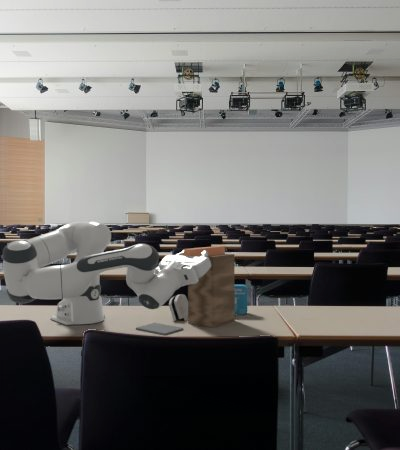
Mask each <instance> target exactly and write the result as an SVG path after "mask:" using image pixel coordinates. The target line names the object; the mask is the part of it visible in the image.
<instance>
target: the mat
mask: <svg viewBox="0 0 400 450" xmlns="http://www.w3.org/2000/svg"><path fill="white" fill-rule="evenodd" d="M135 330H137V331H142V332H148V333H152V334H157V335H161V336H167V335H170V334H171V335H172V334H173V333H176V332H180V331H183V330H184V327H181V326H175V325H170V324H163V323H158V322H152V323H148V324H145V325H144V324H143V325H141V326H137V327H135Z"/></svg>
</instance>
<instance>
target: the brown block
mask: <svg viewBox="0 0 400 450" xmlns="http://www.w3.org/2000/svg"><path fill="white" fill-rule="evenodd" d="M207 257H208V258H209V260H210V262H211V267H210V269H209V270H208V271H207V272H206V273H205V274H204V275H203V276H202V277H200V278H198V280H199V281H198V282H197V283H196V284H190V285H187V301H188V320H187V322H188V324H192V325H197V326H202V327H208V328H216V327H219V326H222V325H225V324H226V325H227V324H228V323H231V322H235V316H236V315H235V294H234V284H235V254H234V253H233V254H232V253H225V254H219V255H211V256H207Z"/></svg>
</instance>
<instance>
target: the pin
mask: <svg viewBox="0 0 400 450" xmlns="http://www.w3.org/2000/svg"><path fill="white" fill-rule="evenodd" d="M183 250H184V256H199V257H201V256H202V254H201V253H202V252H203V251H207V252H208V256H211V255H219V254H226V246H225V245H223V246H222V245H217V246H216V245H214V246H206V247H205V246H204V247H203V246H202V247H193V248H184V249H183Z"/></svg>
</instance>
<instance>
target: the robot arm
mask: <svg viewBox="0 0 400 450" xmlns="http://www.w3.org/2000/svg"><path fill="white" fill-rule="evenodd" d="M111 240H112V232H111V230H110V228H109V227H108V226H107V225H106V224H104V223H102V222H98V221H72V222H68V223H65V224H64V225H63V226H61V227H58V228H57V229H55V230H53V231H50V232H47V233H43V234H40V235H38V236H34V237H31V238H29V239H27V240H25V239H24V240H23V239H17V240H13V241H10V242H9V243H8V244H6V245H5V246H4V247H3V248H2V255H1V256H2V257H1V258H2V260H3V261H2V263H3V264H2V268H3V269H2V271H3V272H2V273H3V276H4V281H5V286H6V294H7V296H8V298H9V300H11V301H12V302H14V303H17V304H28V303H31V302H34V301H36V300H61V301H59V302H57V306H56V313H55V314H53V315H51V316H50V317H49V319H50V320H52V321H55V322H58V323H60V324H61V325H62V324H63V325H64V326H65V325H66V326H69V325H72V326H73V325H88V324H89V325H91V324H96V323H97V324H98V323H101V322H102V321H104V320H105V317H106V315H105V313H104V310H103V309H104V308H103V300H102V299H103V297H102V296H101V293H102V286H101V285H102V284H100V276H101V275H100V274H101V273H104V272H107V271H110V270H111V271H112V270H117V269H118V270H119V269H122V268H126V273H125V275H126V277H125V282H126V285H127V286H128V288H129V289H131V290H133V292H134V293H135V294H136V295H137V298H138V302H139V303H140V304H141V305H142V306H143V307H144V308H146V309H148V310H157V309H159V308H161V307H162V306H163V305H165V303H167V301H168V302H169V301H170V299H171V298H172V297H173V295H174V294H175V292H176V291H177V290H179V289H180V288H181V287H185V286H188V285H190V284H196V283H197V282H198V281H199V280H198V278H200V277H202V276H203V275H204V274H205V273H206V272H207V271H208V270H209V269H210V267H211V262H210V260H209V258H208V257H207V256H208V252H207V251H203V252H202V253H201V254H202V256H201V257H199V256H184V249H183V250H182V251H181V252H179V253H176V254H167V255H165V256H164V257H163V258H162V259H161V261H159V259H160V255H159V252H158V250H157V249H156V248H155V247H154V246H152V245H150V244H148V243H137V244H134V245H131V246H127V247H125V248H121V249H114V250H109V251H105V250H106V248H107V247H108V246H109V244H110V243H111ZM75 251H77V252H76V255H75V258H74V260H73V262H71V263H67V264H61V265H60V264H59V265H58V264H57V265H51V264H54V263H56V262H58V261H59V262H60V261H61V260H64V259H66V258H67V257H68V255H70V254H71V253H73V252H75ZM104 251H105V252H104Z"/></svg>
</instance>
